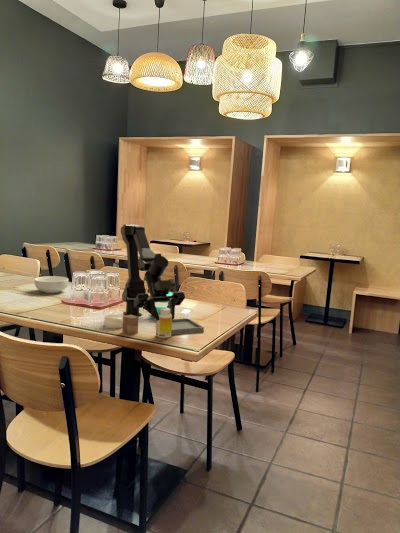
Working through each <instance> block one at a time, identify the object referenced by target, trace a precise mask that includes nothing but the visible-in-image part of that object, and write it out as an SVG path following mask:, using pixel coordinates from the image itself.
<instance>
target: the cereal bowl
mask: <svg viewBox="0 0 400 533" xmlns="http://www.w3.org/2000/svg"><path fill="white" fill-rule="evenodd" d="M34 286H35V287H36V289H37V290H39V291H41V292H43V293H44V294H59V293H60V292H61V291H64V290H65V289H67V287H68V286H69V278H68V277H66V276H59V275H58V276H56V275H54V276H53V275H52V276H48V275H47V276H39V277H35V278H34ZM58 292H59V293H58Z"/></svg>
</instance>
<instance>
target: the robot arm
mask: <svg viewBox="0 0 400 533" xmlns="http://www.w3.org/2000/svg"><path fill="white" fill-rule="evenodd" d="M122 225H123V226H121V227H120V234H121V237H122V238H121V239H122V241H123V242H124V243H125V245H126V254H127V255H126V256H127V257H126V258H127V259H126V260H127V269H128V270H127V272H128V279H127V280H126V282H125V284H124V285H125V286H124V289H123V291H122V294H121V300H122V301H123V302H125V311H123V314H124V316H127V315H134V316H137V317H139V316H142V315H143V314H142V313H141V312H140V309H142V310H146V311H147V312H148V313H149V314H150V315H151V316H152V317H153V318H154V320H157V321H159V315H158V312H157V309H156V307H157V306H156V303H162V302H167V306H166V307H167V308H170V314H172V319H175V313H176V306H181V304H182V303H183V301H184V300H185V299H186V295H185V293H184V292H183V291H173V292H172V293H173V294H172V296H167V295H166V294H168V293H169V292H170V290H173V289H174V288H175V287H176V286H177V285H176V281H175V279H174V278H169V279H168V280H167V279H165V280H164V279H163V280H162V276H163V275H164V273H165V271H166V270H167V268H168V266H169V260H168V259H167V258H166V257H165V256H163V255H162V253H155V252H154V251H153V250H152V248H151V246H150V244H149V241H148V237H147V236H146V229H145V226H143V225H139V224H133V223H132V224H129V223H124V224H122ZM140 271H142V272H145V273H144V278H143V279H142V278H141V276H140ZM145 283H146V285H147V288H148V289H147V290H146V287H145ZM146 292H147V293H146Z"/></svg>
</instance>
